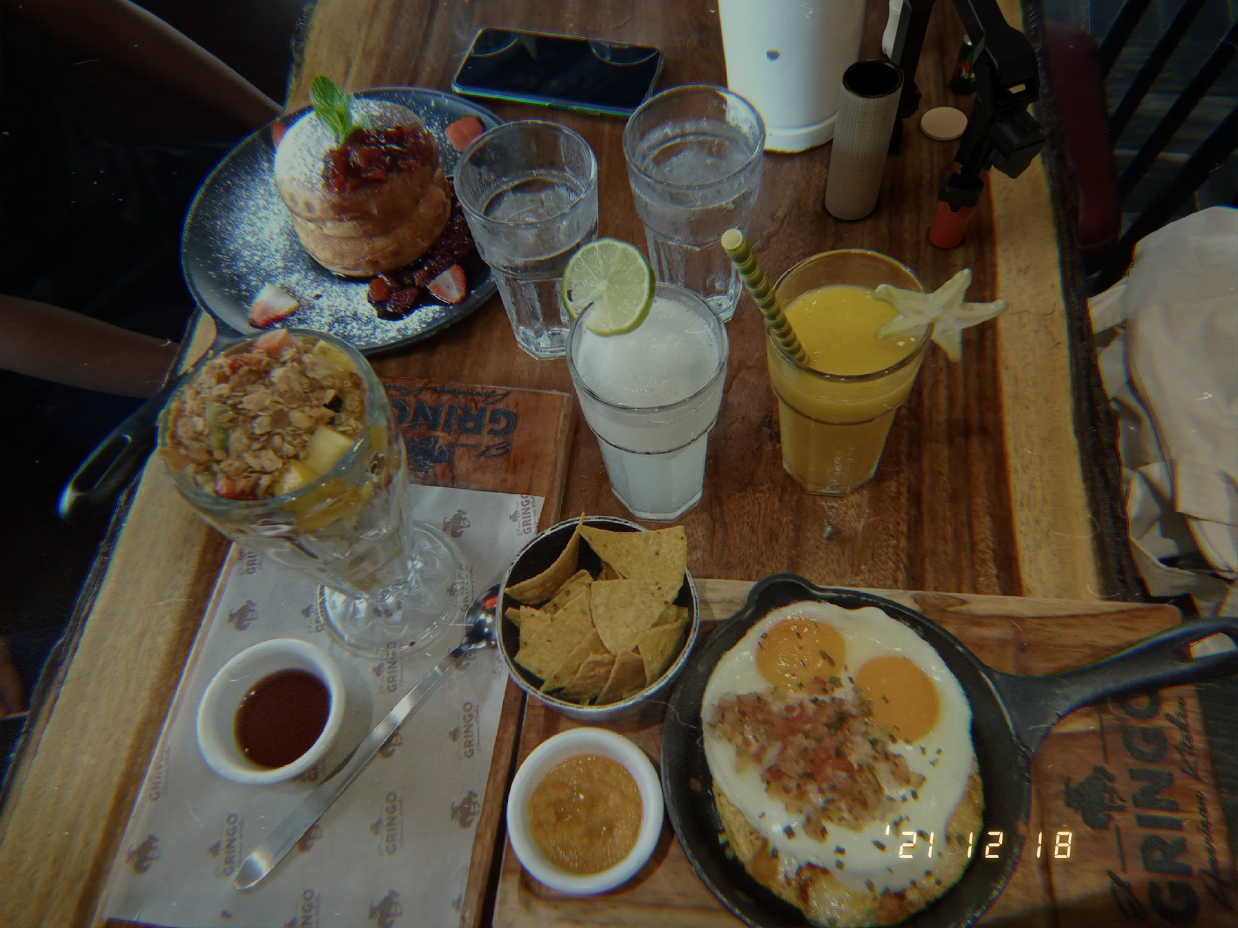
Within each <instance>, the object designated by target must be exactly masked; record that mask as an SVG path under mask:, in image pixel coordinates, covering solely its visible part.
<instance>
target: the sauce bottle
mask: <svg viewBox="0 0 1238 928" xmlns="http://www.w3.org/2000/svg"><path fill="white" fill-rule="evenodd" d="M973 212H974V207H973V208H968V207H964V206H962V207H961V208H960V210H959V211H958V212H957V213H954V212H951V210H950V207H949V204H948V203H946V202H942V201H939V202H938V204H937V207H936V210H935V214H934V217H933V220H932V223H931V226H930V229H929V232H928V239H929V241H930V242H931V244H933V245H934V246H935V247H938V248H941V249H952V248H955V247H957V246H958V245H959V244H960V243H961V242H962V240H963V237H964V235H965V232H966V230H967V228H968V225H969V222H970V219H971V217H972V214H973Z"/></svg>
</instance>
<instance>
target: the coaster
mask: <svg viewBox="0 0 1238 928" xmlns="http://www.w3.org/2000/svg"><path fill="white" fill-rule="evenodd" d="M967 121H968V117H967V116H966V115H965V114H964V113H963V112H962V111H961V110H959V109H957V108H954V107H949V106H940V107H939V106H938V107H935V108H932V109H929V110H928V111H926V112H925V113H924V115H923V116H922V117H921V121H920V129H921V131H922V133H923V134H924V135H925V136H927V137H928V138H930V139H932V140H935V141H952V140H956V139H958V138H959V137H962V134H963V132H964V130H965V127H966V124H967Z"/></svg>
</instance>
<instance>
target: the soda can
mask: <svg viewBox="0 0 1238 928" xmlns="http://www.w3.org/2000/svg"><path fill="white" fill-rule="evenodd" d="M958 51H959V52H958V55H957V57H956V62H955V64H954V69H953V71H952V76H951V79H950V83H949V87H950V89H951V90H952V91H953V92H954V93H956V94H960V95H962V94H963V95H965V94H968V93H971V92H972V91H973V90H974V89H973V88H972V86H971V85H970V82H971V81H972V80H975V76H974V73H973V70H972V61H973V56H974V49H973V46H972V43H971V41H970V39H969V37H968V34H967V32H966V33H965V34H963V37H962V41H961V45H960V48H959V50H958Z"/></svg>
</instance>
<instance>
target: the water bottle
mask: <svg viewBox="0 0 1238 928" xmlns="http://www.w3.org/2000/svg"><path fill="white" fill-rule="evenodd" d="M902 4H903V0H889V2H888V6H889V7H888V8H889V13H888V19H887V23H886V28H885V29H884V32H883V34H882V41H881V48H882V52H883V54H884V55H886V56H887V57H888V59H889V60H890V59H891V54H892V50H893V45H894V40H895V36H896V31H897V27H898V22H899V17H900V13H901V8H902Z"/></svg>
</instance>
